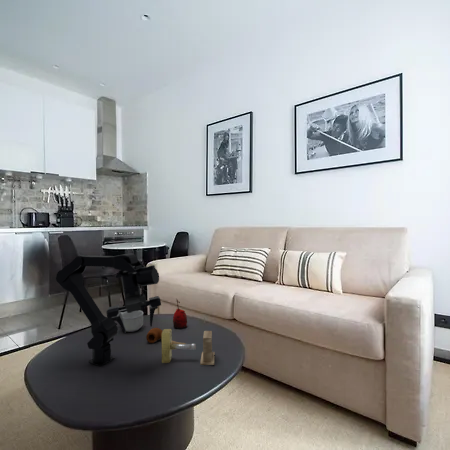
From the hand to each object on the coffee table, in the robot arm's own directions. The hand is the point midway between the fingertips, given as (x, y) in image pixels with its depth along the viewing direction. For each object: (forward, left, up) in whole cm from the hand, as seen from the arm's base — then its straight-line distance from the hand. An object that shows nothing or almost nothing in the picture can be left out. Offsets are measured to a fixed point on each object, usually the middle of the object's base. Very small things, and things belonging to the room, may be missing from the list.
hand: (138, 329), depth 102 cm
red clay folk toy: (-10, +37, -13) cm, 41 cm away
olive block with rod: (+11, +10, -13) cm, 20 cm away
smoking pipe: (-4, +20, -13) cm, 24 cm away
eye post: (+20, +15, -13) cm, 28 cm away
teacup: (-30, +23, -13) cm, 40 cm away
